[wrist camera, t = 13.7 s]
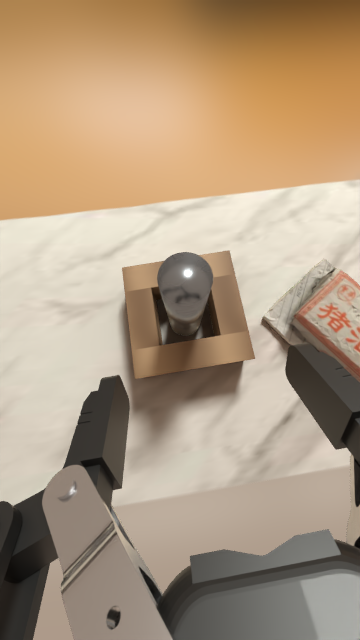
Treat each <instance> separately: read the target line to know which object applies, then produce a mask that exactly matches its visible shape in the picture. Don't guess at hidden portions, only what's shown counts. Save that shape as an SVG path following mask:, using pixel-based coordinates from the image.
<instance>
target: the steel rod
mask: <svg viewBox="0 0 360 640" xmlns="http://www.w3.org/2000/svg"><path fill="white" fill-rule="evenodd" d="M157 282H158V286H159V290H160V293H161V296H162V299H163V302H164V306H165V309H166V312H167V315H168V318H169V322H170V325H171V327H172V329H173V331H174V332H176V333H177V334H179V335H182V336H188V335H192V334H193V333H195V332H196V331H197V330H198V328H199V325H200V322H201V319H202V316H203V313H204V310H205V306H206V303H207V300H208V297H209V294H210V291H211V287H212V284H213V273H212V269H211V267H210V265H209V264H208V263H207V261H206V260H205V259H203V258H202V257H201V256H199V255H196V254H194V253H189V252H182V253H177V254H174V255H172V256H170V257H169V258H167V259H166V260H165V261H164V262H163V263H162V265H161V266H160V268H159V271H158V275H157Z"/></svg>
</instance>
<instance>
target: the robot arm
mask: <svg viewBox="0 0 360 640" xmlns="http://www.w3.org/2000/svg"><path fill="white" fill-rule="evenodd" d="M285 371H286V376H287V379H288V381H289V383H290V384H291V385H292V387H293V388H294V390H295V391H296V393H297V394H298V396H299V397H300V398H301V400H302V401H303V403H304V404H305V406H306V407H307V409H308V410H309V412H310V413H311V414H312V416H313V417H314V419H315V420H316V422H317V423H318V425H319V426H320V428H321V429H322V430H323V432H324V433H325V435H326V436H327V438H328V439H329V441H330V442H331V443H332V445H333V446H334V448H335V449H341V448H348V450H349V451H350V452H351V456H350V494H351V510H350V516H349V520H348V525H347V534H346V535H347V536H346V543H345V542H342V541H339V540H335V539H333V537H332V535H331V533H330V531H329V530H328V529H327V530H322V531H317V532H312V533H307V534H302V535H296V536H294V537H292V538H291V539H289V540H288V541H286V542H285V543H283V544H282V545H280V546H279V547H277V548H276V549H274V550H273V551H271V552H270V553H268V554H266V555H264V556H259V555H253V554H247V553H242V552H236V551H230V550H219V551H214V552H209V553H204V554H198V555H193V556H190V562H191V565H190V566H188V567H187V568H186V569H184V570H183V571H182V572H181V573H179V574H178V575H177V576H176V577H175V579H174V580H173V581H172V582H171V583H170V585H169V586H168V588H167V589H166V591H165V592H164V593H163V594H162V592H161V591H160V589H159V587H158V585H157V583H156V582H155V580H154V578H153V576H152V574H151V573H150V571H149V569H148V567H147V566H146V564H145V562H144V561H143V559H142V558H141V556H140V555H139V553H138V551H137V549H136V548H135V546H134V544H133V542H132V541H131V539H130V537H129V535H128V533H127V532H126V530H125V528H124V526H123V524H122V522H121V521H120V519H119V517H118V515H117V513H116V512H115V510H114V508H113V506H112V504H111V500H112V492H113V490H116V489H121V488H122V481H123V470H124V460H125V450H126V440H127V430H128V420H129V409H130V407H129V398H128V395H127V393H126V390H125V387H124V385H123V382H122V380H121V377H120V376H119V375H117V376H111V377H105V378H102V379H101V382H100V385H99V389H98V391H93V392H91V393H90V395H89V396H88V397H87V399H86V400H85V401H84V404H83V407H82V410H81V413H80V414H81V416H79V420H78V425H77V426H76V429H75V433H74V436H73V439H72V442H71V446H70V449H69V452H68V455H67V458H66V462H65V464H64V467H63V469H62V470H61V471H59V472H58V473H57V474H56V475H55V476H54V477H53V478H52V479H51V481H50V482H49V484H48V485H47V487H46V488H45V489H44V490H42V491H41V492H39V493H37V494H35V495H33V496H31V497H30V498H28V499H26V500H24V501H22V502H20V503H18V504H16V505H14V506H12V505H11V504H10V503H8V502H5V501H1V502H0V640H33V636H34V632H35V627H36V623H37V618H38V614H39V610H40V605H41V601H42V596H43V591H44V588H45V583H46V579H47V574H48V570H49V565H50V563H51V562H52V561H54V560H55V559H57V558H59V561H60V564H61V567H62V570H63V576H64V579H63V581H62V583H61V593H62V599H63V603H64V607H65V610H66V613H67V617H68V620H69V624H70V627H71V630H72V634H73V638H74V640H360V382H359V381H358V380H357V379H356V378H355V377H352V375H351V374H350V373H349V372H348V371H347V370H346V369H344V367H343V366H342V365H341V364H340V363H339V362H338V361H337V360H336V359H335V358H333V357H331V356H329V355H328V354H326V353H324V352H318V351H317V350H316V349H315V348H314V347H313V346H312V345H311V344H310V343H302V344H296V345H291V346H290V347H289V350H288V356H287V362H286V369H285Z"/></svg>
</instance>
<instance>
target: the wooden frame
mask: <svg viewBox="0 0 360 640" xmlns="http://www.w3.org/2000/svg"><path fill="white" fill-rule="evenodd" d="M199 256H201V257H202V258H203V259H205V260H206V261H207V263H208V264H209V265H210V267H211V269H212V273H213V284H212V287H211V291H210V294H209V297H208V300H207V303H208V308H209V312H210V317H211V322H212V327H213V332H214V337H208V338H202V339H196V340H190V341H184V342H178V343H172V344H166V345H163V343H162V336H161V330H160V323H159V316H158V309H157V303H156V300H160V299H162V296H161V293H160V290H159V286H158V282H157V275H158V271H159V268H160V266H161V265H162V263H163V262H164V261H161V262H155V263H149V264H142V265H136V266H130V267H124V268H122V271H123V280H124V289H125V297H126V306H127V315H128V323H129V332H130V340H131V349H132V358H133V366H134V375H135V379H138V378H144V377H150V376H156V375H162V374H168V373H174V372H179V371H185V370H191V369H197V368H203V367H209V366H215V365H221V364H227V363H232V362H238V361H244V360H250V359H255V356H254V352H253V348H252V344H251V340H250V335H249V331H248V327H247V323H246V319H245V314H244V310H243V306H242V302H241V298H240V293H239V289H238V285H237V281H236V277H235V272H234V268H233V264H232V260H231V256H230V251H223V252H217V253H210V254H204V255H199Z"/></svg>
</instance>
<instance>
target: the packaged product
mask: <svg viewBox="0 0 360 640" xmlns="http://www.w3.org/2000/svg"><path fill="white" fill-rule="evenodd" d="M263 319H264V320H265V321H266V322H267V323H268V324H269V325H270V326H271V327H272V328H273V329H274V330H275V331H276V332H277V333H278V334H279V335H280V336H281V337H283V338H284V339H285V340H286V341H287V342H288V343H289V344H290V345H296V344H302V343H310V344H311V345H312V346H313V347H314V348H315V349H316V350H317V351H318V352H324V353H326V354H328V355H329V356H331V357H333V358H335V359H336V360H337V361H338V362H339V363H340V364H341V365H342V366H343V367H344V369H346V370H347V371H348V372H349V373H350V374H351V375H352V377H355V378H356V379H357V380H358V381H359V382H360V286H359V285H358V283H357V282H355V281H354V280H353V279H352V278H351V277H350V276H349V275H348V274H346V273H344V272H343V271H342V270H340V269H337V268H335V267H333V266H332V265H331V264H330V263H329V262H328V261H327V260H326V259H323V260H322V261H321V262H319V263H318V264H317V265H316V266H314V267H313V268H312V269H311V270H310V271H309V272H308V273H307V274H306V275H305V276H304V277H303V279H302V280H301V281H299V282H298V283H297V284H296V285H295V286H293V287H292V288H291V289H290V290H289V291H288V292H287V293H285V294H284V295H283V296H282V297H281V298H280V299H279V300H278V301H277V302H276V303H275V304H274V305H273V306H272V307H271V308H270V309H269V311H268V312H267V313H266V314H265V315H264V316H263Z"/></svg>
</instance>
